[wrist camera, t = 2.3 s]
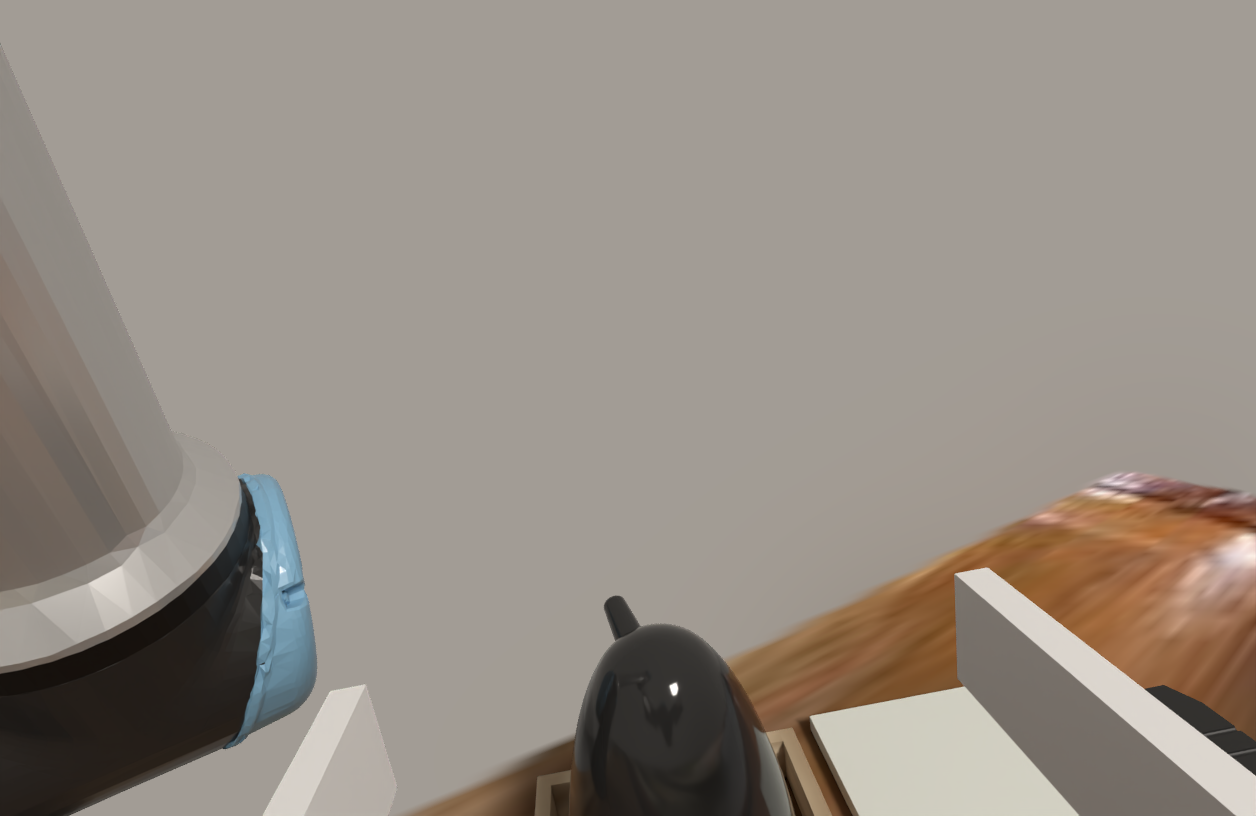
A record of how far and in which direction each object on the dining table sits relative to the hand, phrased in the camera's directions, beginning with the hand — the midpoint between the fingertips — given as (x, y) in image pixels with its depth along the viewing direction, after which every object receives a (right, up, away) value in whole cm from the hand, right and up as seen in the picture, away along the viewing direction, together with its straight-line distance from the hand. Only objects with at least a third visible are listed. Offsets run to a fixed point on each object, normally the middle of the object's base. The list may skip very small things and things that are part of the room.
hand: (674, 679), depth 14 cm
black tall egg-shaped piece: (+2, -18, +16) cm, 24 cm away
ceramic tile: (+17, -14, +20) cm, 29 cm away
